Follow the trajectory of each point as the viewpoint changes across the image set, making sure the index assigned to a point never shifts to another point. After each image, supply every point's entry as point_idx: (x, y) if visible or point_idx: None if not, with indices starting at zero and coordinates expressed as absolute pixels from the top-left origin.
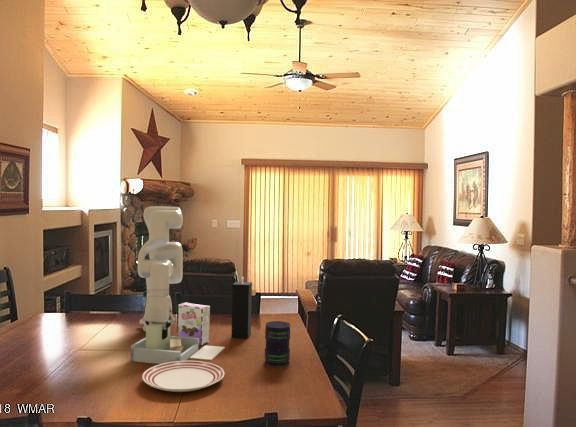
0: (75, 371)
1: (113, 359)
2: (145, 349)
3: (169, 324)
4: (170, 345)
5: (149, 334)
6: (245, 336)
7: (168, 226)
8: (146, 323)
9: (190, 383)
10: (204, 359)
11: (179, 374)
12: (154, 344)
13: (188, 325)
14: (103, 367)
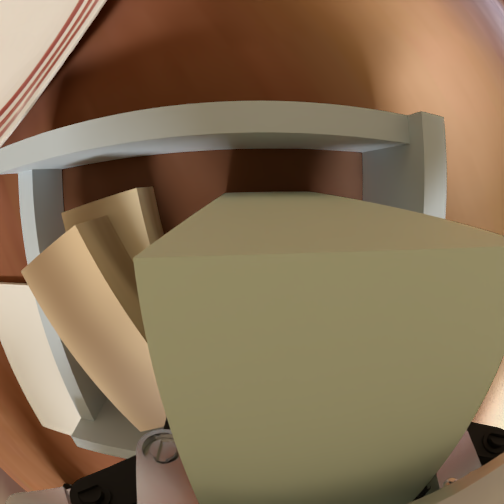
0: (478, 14)
1: (466, 152)
2: (290, 101)
3: (81, 490)
4: (91, 259)
5: (353, 211)
6: (67, 488)
7: None
8: (494, 430)
9: None
10: (2, 282)
11: (16, 45)
12: (240, 199)
13: None
14: (436, 39)
